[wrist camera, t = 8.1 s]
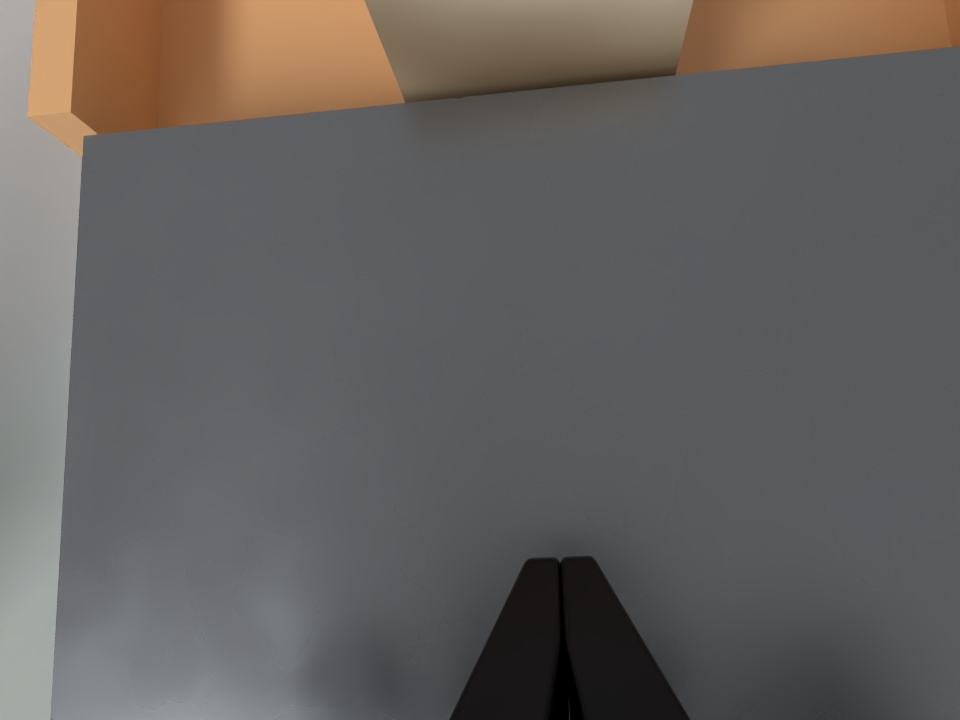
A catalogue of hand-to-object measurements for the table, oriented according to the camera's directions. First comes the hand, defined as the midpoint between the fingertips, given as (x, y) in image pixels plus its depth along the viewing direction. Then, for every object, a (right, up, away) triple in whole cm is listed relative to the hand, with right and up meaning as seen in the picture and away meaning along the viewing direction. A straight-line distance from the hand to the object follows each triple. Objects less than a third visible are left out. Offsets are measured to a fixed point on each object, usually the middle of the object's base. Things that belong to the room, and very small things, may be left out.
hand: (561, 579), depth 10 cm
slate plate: (+1, -2, +8) cm, 8 cm away
